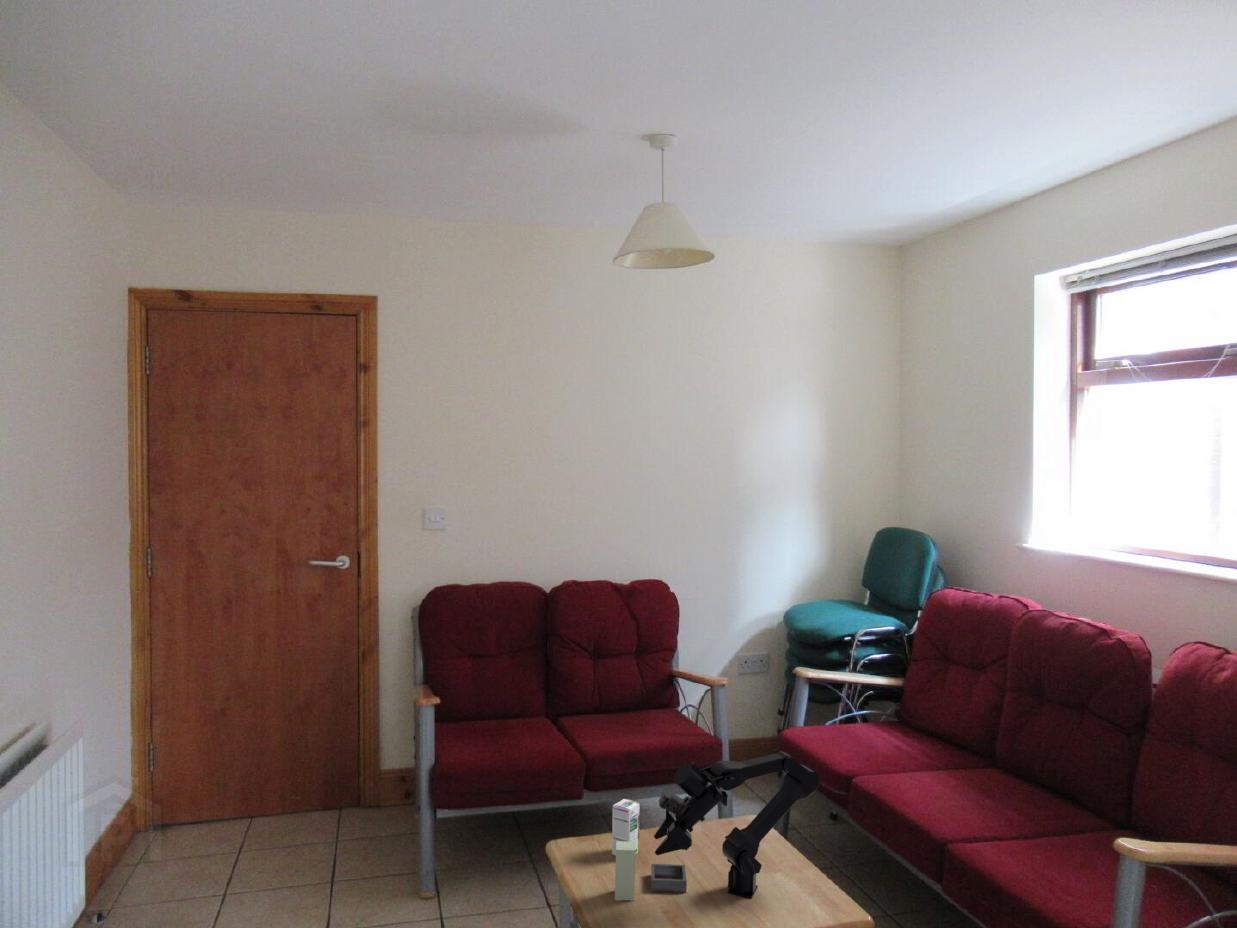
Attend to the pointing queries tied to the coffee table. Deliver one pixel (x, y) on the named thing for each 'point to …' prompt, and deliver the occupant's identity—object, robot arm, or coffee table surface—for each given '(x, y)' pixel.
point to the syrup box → (625, 823)
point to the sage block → (625, 870)
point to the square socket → (668, 884)
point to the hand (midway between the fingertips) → (655, 845)
